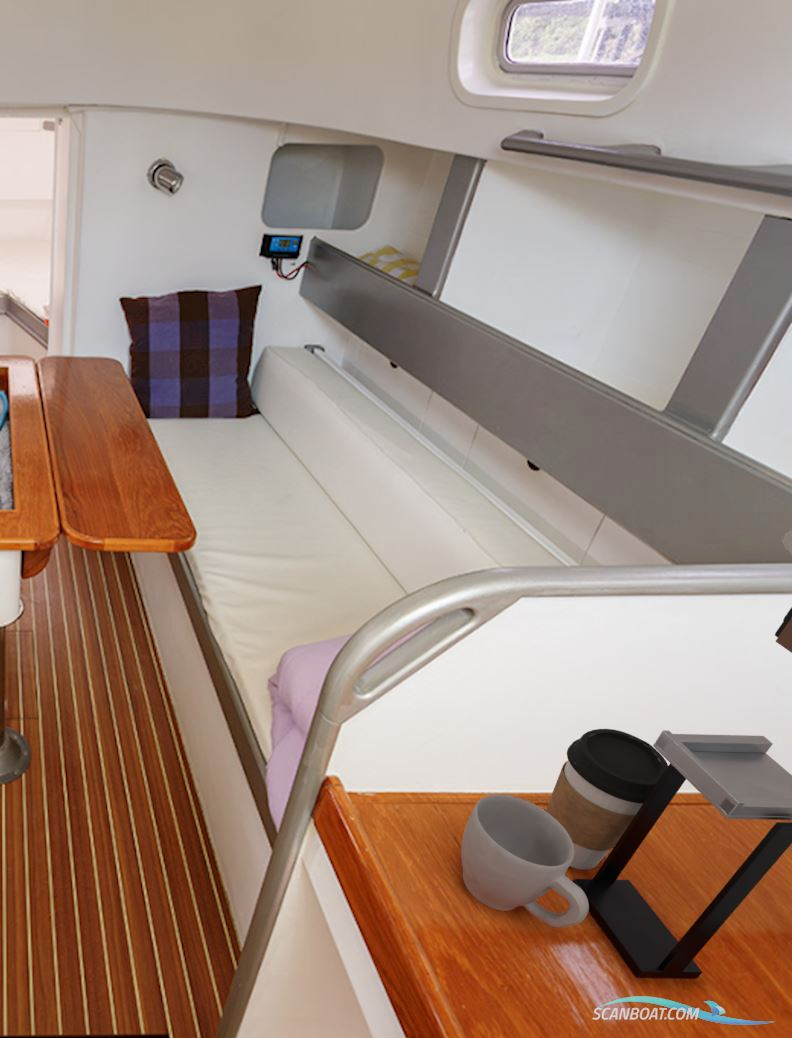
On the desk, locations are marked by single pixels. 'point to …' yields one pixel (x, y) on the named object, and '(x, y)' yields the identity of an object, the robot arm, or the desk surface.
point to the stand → (636, 922)
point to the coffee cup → (603, 790)
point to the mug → (519, 859)
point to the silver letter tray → (732, 773)
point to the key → (786, 637)
